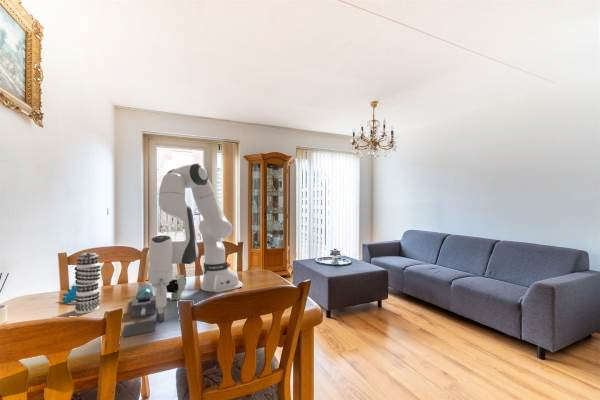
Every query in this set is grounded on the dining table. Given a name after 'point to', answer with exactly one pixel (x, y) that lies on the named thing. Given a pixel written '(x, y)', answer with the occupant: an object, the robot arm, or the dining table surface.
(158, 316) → the chuck key
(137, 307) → the grey base teal knob
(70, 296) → the gear
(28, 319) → the dining table surface
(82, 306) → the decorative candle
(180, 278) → the pneumatic valve
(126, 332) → the mat
